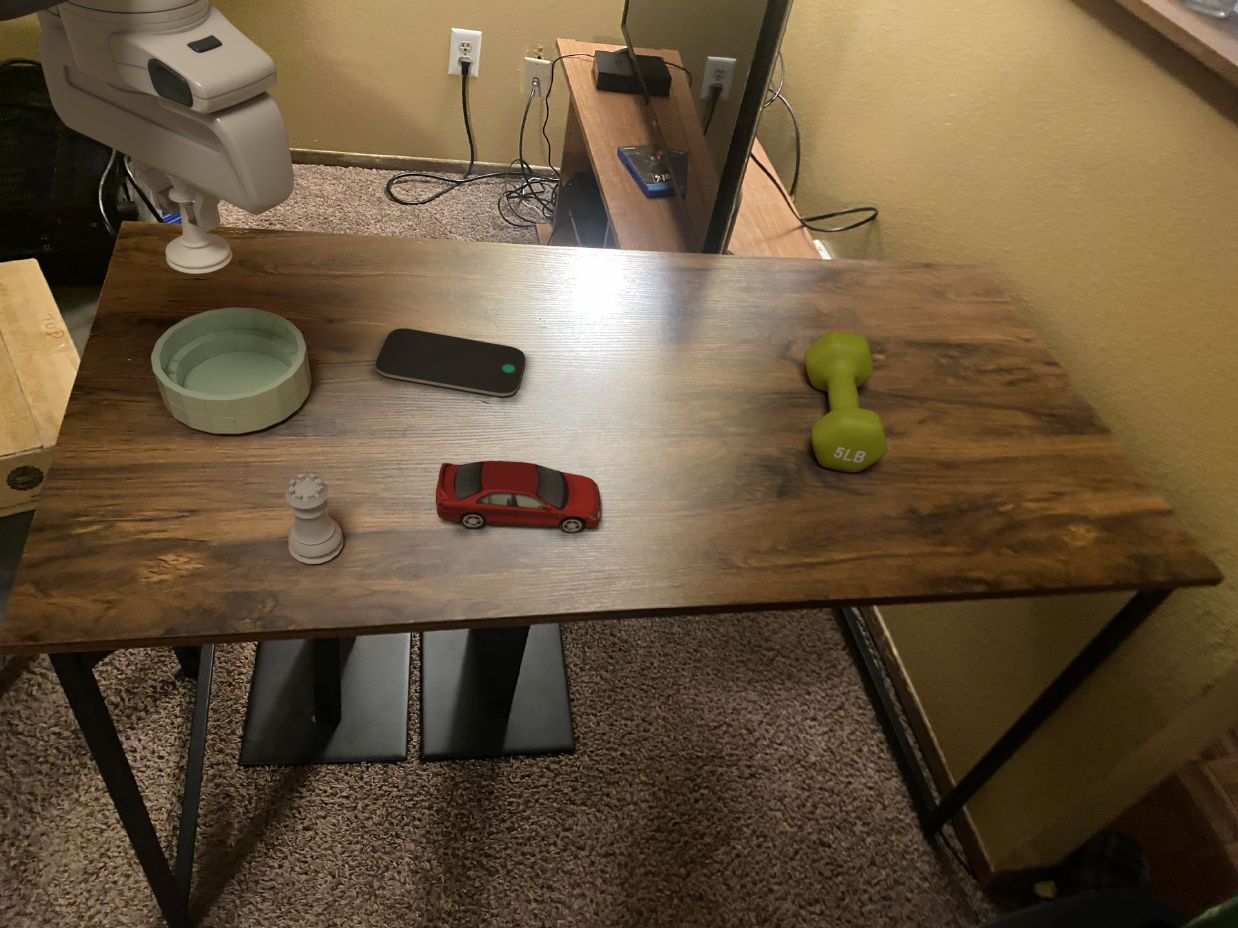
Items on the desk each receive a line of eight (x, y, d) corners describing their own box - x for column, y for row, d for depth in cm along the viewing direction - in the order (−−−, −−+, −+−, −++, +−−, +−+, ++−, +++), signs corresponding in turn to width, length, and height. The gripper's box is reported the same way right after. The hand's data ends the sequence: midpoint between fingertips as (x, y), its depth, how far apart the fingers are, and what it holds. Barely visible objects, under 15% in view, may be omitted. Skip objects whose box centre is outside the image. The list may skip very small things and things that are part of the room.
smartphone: (515, 394, 87) (371, 369, 86) (515, 400, 87) (372, 375, 87) (527, 348, 92) (391, 324, 91) (527, 354, 92) (392, 331, 92)
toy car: (441, 481, 79) (440, 445, 75) (599, 496, 80) (606, 461, 77) (432, 527, 75) (431, 491, 71) (598, 541, 76) (605, 507, 73)
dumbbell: (874, 484, 87) (902, 435, 82) (800, 470, 87) (822, 420, 82) (860, 382, 98) (883, 334, 93) (794, 369, 98) (814, 320, 93)
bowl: (173, 451, 76) (159, 412, 73) (157, 358, 84) (144, 318, 80) (324, 422, 81) (318, 384, 78) (297, 337, 89) (290, 299, 85)
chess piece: (219, 278, 67) (191, 161, 60) (156, 269, 66) (120, 150, 59) (241, 244, 70) (216, 130, 63) (180, 235, 70) (149, 119, 63)
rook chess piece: (286, 530, 72) (272, 469, 66) (340, 521, 74) (331, 460, 68) (292, 572, 70) (277, 511, 64) (347, 561, 71) (338, 501, 65)
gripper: (-12, -3, 56) (58, 186, 66) (221, 99, 51) (258, 285, 61) (72, -24, 60) (126, 157, 70) (295, 69, 55) (318, 248, 65)
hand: (189, 218), depth 66 cm, fingers closed on chess piece
